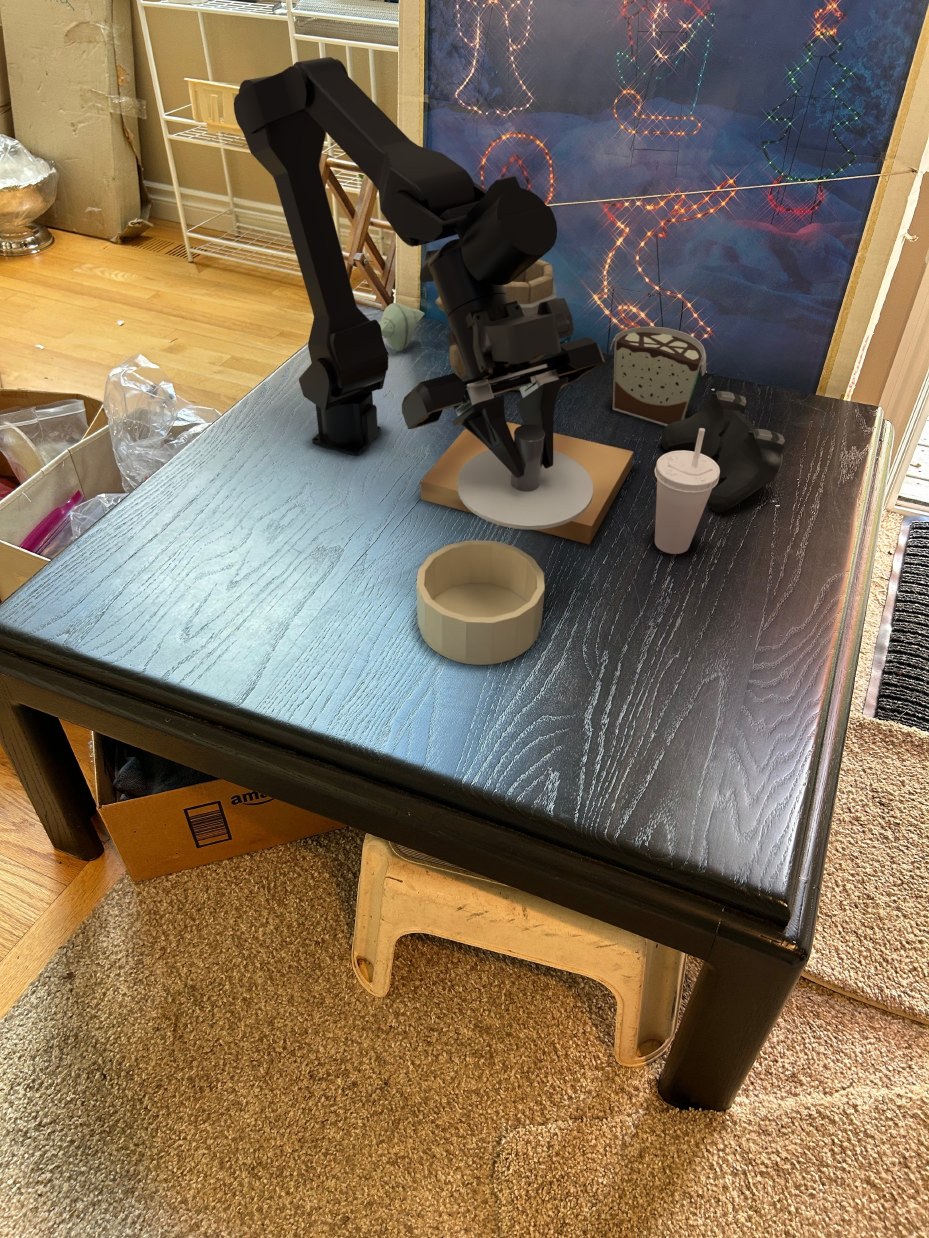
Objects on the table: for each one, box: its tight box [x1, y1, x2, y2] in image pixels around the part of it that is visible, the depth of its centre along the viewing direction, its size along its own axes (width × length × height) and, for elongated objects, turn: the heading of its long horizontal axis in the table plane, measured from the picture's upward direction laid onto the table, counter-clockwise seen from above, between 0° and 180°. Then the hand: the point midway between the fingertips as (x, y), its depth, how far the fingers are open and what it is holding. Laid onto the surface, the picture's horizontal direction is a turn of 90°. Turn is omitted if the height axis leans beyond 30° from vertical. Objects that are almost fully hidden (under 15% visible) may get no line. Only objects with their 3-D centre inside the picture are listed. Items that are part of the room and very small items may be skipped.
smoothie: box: [654, 428, 720, 555], centre depth 92 cm, size 6×6×14 cm
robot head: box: [378, 302, 426, 352], centre depth 127 cm, size 8×4×7 cm, turn 134°
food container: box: [609, 326, 707, 427], centre depth 114 cm, size 12×6×10 cm, turn 58°
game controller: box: [660, 390, 786, 513], centre depth 105 cm, size 16×7×10 cm, turn 15°
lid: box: [457, 424, 593, 531], centre depth 83 cm, size 13×13×7 cm
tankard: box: [435, 258, 558, 391], centre depth 119 cm, size 20×13×15 cm, turn 133°
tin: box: [416, 539, 546, 666], centre depth 85 cm, size 12×12×5 cm
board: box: [420, 421, 634, 546], centre depth 104 cm, size 20×16×2 cm
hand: (534, 472), depth 82 cm, fingers closed on lid, 3 cm apart
